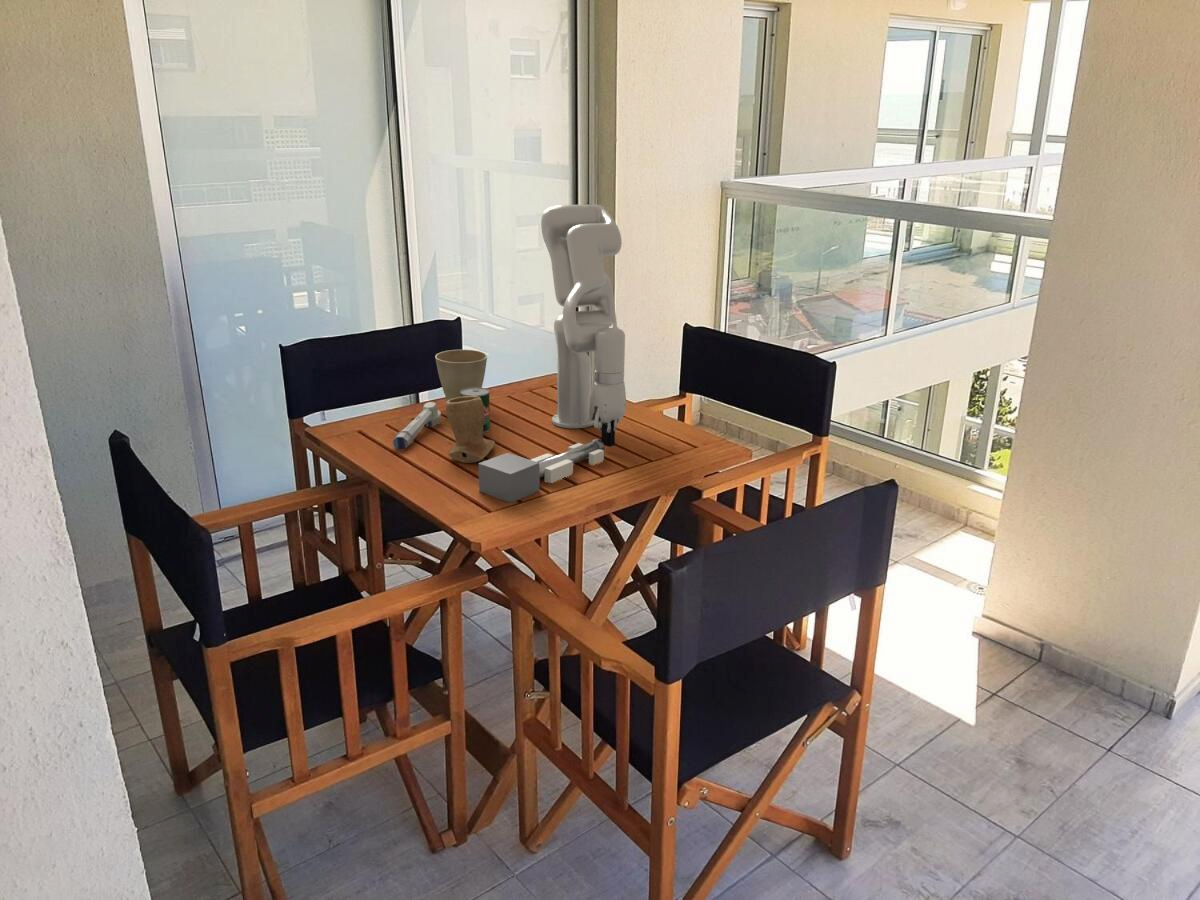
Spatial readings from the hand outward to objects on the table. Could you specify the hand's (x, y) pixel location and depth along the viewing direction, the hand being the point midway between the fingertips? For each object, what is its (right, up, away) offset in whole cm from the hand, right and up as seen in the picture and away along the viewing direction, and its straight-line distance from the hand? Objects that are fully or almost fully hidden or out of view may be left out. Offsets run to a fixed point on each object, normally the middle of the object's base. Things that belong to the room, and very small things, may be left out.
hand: (607, 444), depth 244 cm
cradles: (-11, -6, -12) cm, 17 cm away
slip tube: (-10, -5, -11) cm, 16 cm away
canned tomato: (-36, +4, +15) cm, 40 cm away
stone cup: (-36, -3, -3) cm, 36 cm away
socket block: (-23, -11, -25) cm, 36 cm away
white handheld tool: (-51, +3, +11) cm, 53 cm away
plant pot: (-43, +11, +33) cm, 55 cm away
